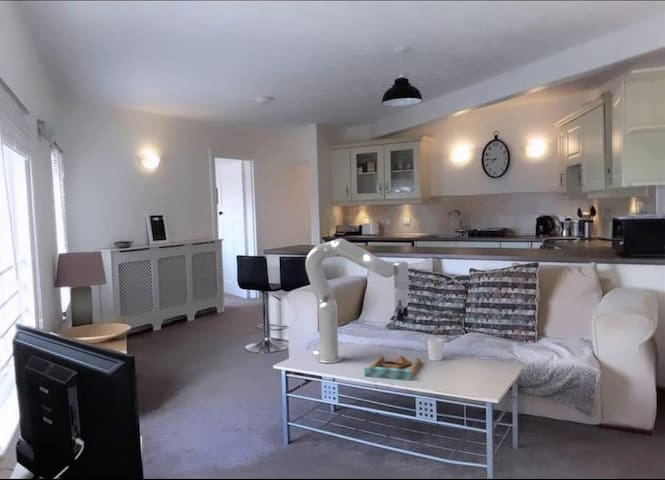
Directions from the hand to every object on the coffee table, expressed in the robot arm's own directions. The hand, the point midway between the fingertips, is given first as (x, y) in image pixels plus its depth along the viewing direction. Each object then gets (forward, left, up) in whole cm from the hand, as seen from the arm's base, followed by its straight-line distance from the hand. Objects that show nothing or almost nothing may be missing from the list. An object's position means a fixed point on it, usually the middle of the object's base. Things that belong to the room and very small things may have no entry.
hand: (402, 318), depth 254 cm
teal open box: (0, -20, -21) cm, 29 cm away
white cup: (+16, +2, -21) cm, 26 cm away
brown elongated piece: (+1, -16, -21) cm, 27 cm away
